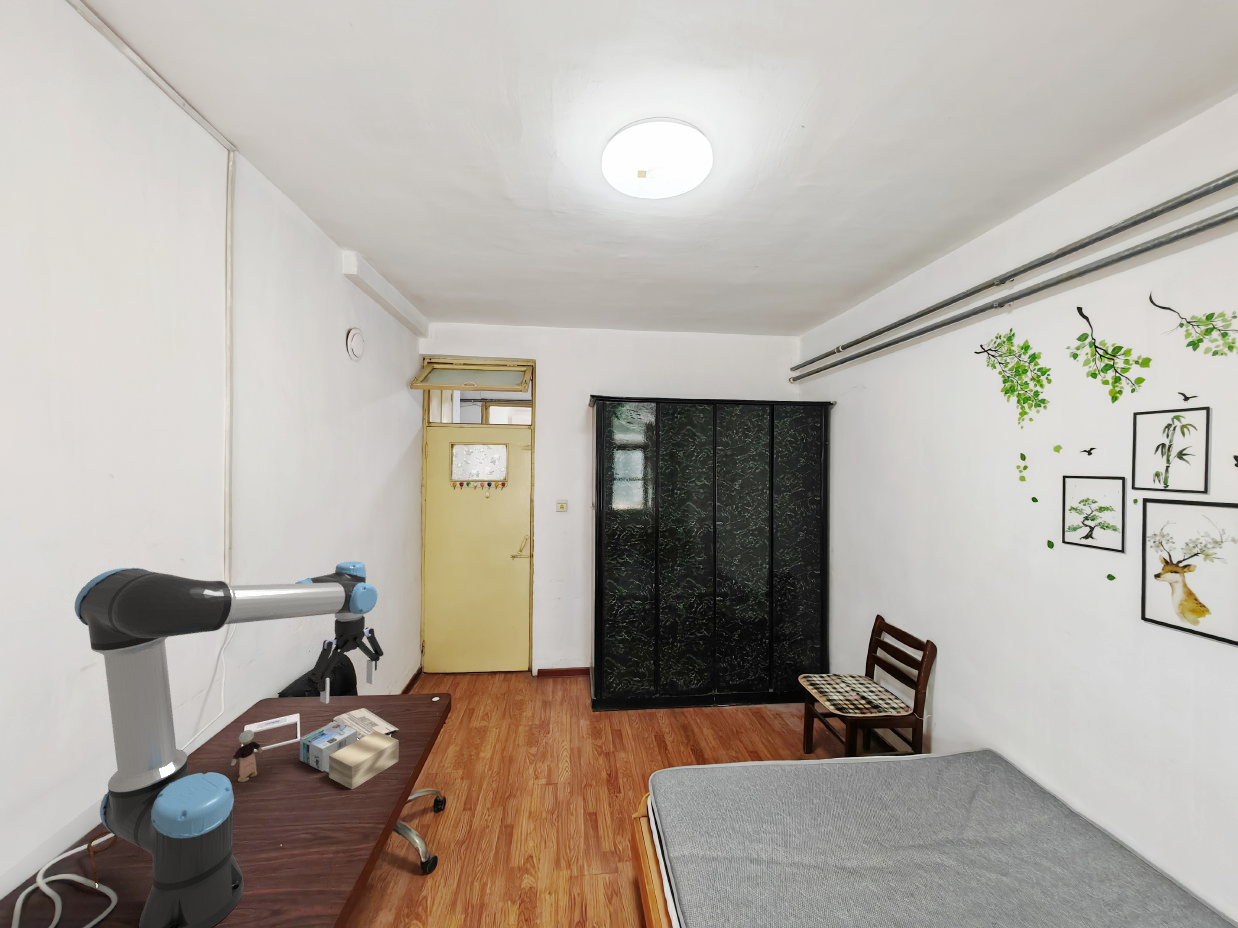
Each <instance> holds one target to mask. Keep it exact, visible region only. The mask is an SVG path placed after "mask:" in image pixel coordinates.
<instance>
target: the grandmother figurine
mask: <svg viewBox="0 0 1238 928" xmlns="http://www.w3.org/2000/svg"><path fill="white" fill-rule="evenodd" d="M254 738H255V733H253V732H252V731H251V730H246V731H244V730H243V732H241V733H240V734H239V737H238V741H239V743H241V745H242V744H243V746H242V747H241V746H240V747H239V748H238V749H237V750H236V752H235V753H234V755H233V757H232V760H231V762H230V766H231V767H234V766H235V765H236V763H237V761H238V760H239V770H238V771H239V773H238V775H239V777H237V781H238V782H240V783H241V782H242V783H244V782H247V781H248V780H250V778H251V777H252V778H253V777H256V776H257V775H258V771H257V761H256V756H255V752H254V749H257V751H258V752H257V753H259V754H261V753H262V752H263V751H264V750H263V749H261V748H262V746H261V744H259V743H258V742H257V741H253V739H254Z"/></svg>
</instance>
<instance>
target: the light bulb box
mask: <svg viewBox="0 0 1238 928" xmlns="http://www.w3.org/2000/svg"><path fill="white" fill-rule="evenodd" d="M331 722H332V721H331ZM331 722H329V723H330V724H329V723H328V724H326V725H325V726H322V727H321V728H318V729H317V730H314V731H312V732H310V733H307V734H305V735H303V736H300V741H299V761H300V762H303V763H305V764H307V765H309V766H311V767H313V768H315V769H317V770H319V771H321V772H325V771H324V770H326V769H328V768H329V755H331V754H333V753H335V752H337V751H338V750H340V749H342V748H344V747H346V746H348V745H350V744H352V743H354V742H356V741H357V731H356V730H354V729H352V728H349V727H347V726H345V725H342V724H340V723H338V722H335V721H334V720H333V722H332V723H331Z"/></svg>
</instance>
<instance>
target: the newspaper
mask: <svg viewBox="0 0 1238 928" xmlns="http://www.w3.org/2000/svg"><path fill="white" fill-rule="evenodd" d="M332 720H333V722H334V721H335V722H338V723H340V724H342V725H345V726H347V727H349V728H352V729H354V730H356V731H357V738H358V739H361V738H363V737H365V736H367V735H369V734H371V733H373V732H374V731H378V732H380V733H383V734H385V735H386V734H387V733H390V732H395V731H396V732H400V729H399V728H397V727H396V726H394V725H393V724H391V723H389V722H388V721H386V720H384V719H383V718H381V717H380V716H378V715H376V714H375V713H373V712H371V711H370V710H368V709H367V708H362V707H361V708H359V709H355V710H352V711H351V710H350V711H347V712H345V713H342V714H340V715H337V716H335V717H334V718H332ZM330 723H332V721H331V722H328V724H330Z"/></svg>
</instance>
